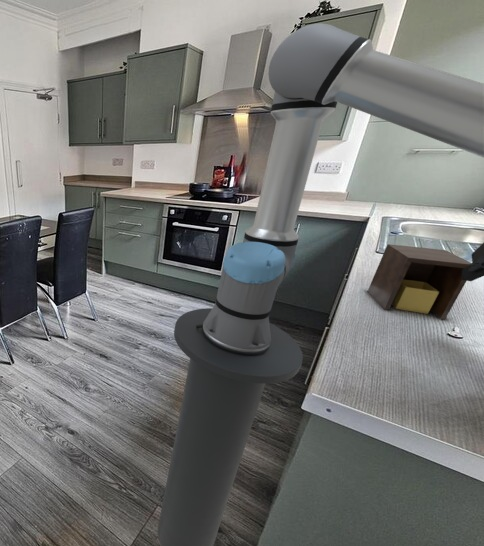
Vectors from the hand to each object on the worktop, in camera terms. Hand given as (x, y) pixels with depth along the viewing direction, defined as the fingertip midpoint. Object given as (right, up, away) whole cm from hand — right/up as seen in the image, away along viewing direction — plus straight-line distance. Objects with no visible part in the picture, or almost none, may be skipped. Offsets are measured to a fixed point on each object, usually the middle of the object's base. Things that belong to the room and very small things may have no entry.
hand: (466, 275), depth 72 cm
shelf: (+7, -9, +21) cm, 24 cm away
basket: (+7, -9, +20) cm, 23 cm away
